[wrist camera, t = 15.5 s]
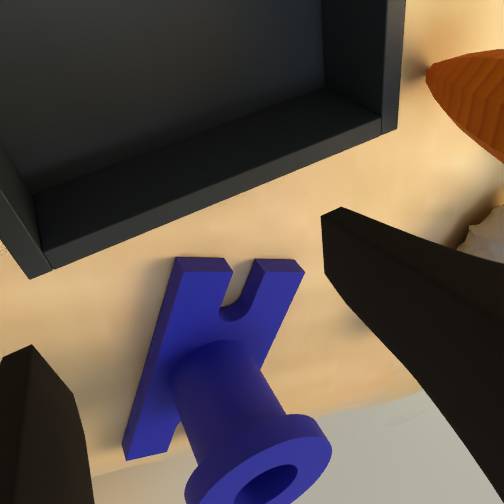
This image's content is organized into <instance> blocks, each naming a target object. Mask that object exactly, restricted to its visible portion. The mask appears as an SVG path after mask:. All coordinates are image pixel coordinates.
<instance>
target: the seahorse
mask: <svg viewBox="0 0 504 504" xmlns="http://www.w3.org/2000/svg"><path fill="white" fill-rule="evenodd" d="M456 250H458V251H461V252H464V253H467V254H470V255H474V256H477V257H481V258H484V259H488V260H492V261H496V262H500V263H504V205H502V206H499V207H496V208H494V209H492V211H491V213H490V215H489V216H488V217H487V218H486V219H484V220H483V221H482V222H481V223H480V224H479V225H470V226H469V233H468V234H467V237H466V240H465V241H464V243H462V244H460V245H459V246H458V248H457V249H456Z"/></svg>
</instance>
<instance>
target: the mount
mask: <svg viewBox="0 0 504 504" xmlns="http://www.w3.org/2000/svg"><path fill="white" fill-rule="evenodd" d="M232 274H233V271H232V269H231V268H230V266H229V265H228V263H227V262H226V260H225V259H224V258H197V257H176V259H175V262H174V266H173V269H172V272H171V276H170V279H169V283H168V286H167V290H166V293H165V297H164V300H163V303H162V307H161V310H160V314H159V317H158V321H157V324H156V328H155V331H154V334H153V338H152V341H151V345H150V348H149V352H148V355H147V359H146V362H145V366H144V369H143V372H142V376H141V379H140V383H139V386H138V390H137V393H136V397H135V400H134V403H133V407H132V410H131V414H130V417H129V421H128V424H127V428H126V431H125V434H124V438H123V441H122V447H123V451H124V455H125V459H126V461H128V460H133V459H137V458H141V457H146V456H150V455H155V454H159V453H164V452H167V450H168V447H169V444H170V442H171V439H172V436H173V434H174V431H175V428H176V426H177V425H178V424H179V422H181V421H182V424H183V427H184V429H185V432H186V434H187V437H188V440H189V442H190V445H191V448H192V450H193V453H194V456H195V458H196V461H197V463H198V467H197V468H196V469H195V470H194V472H193V473H192V475H191V476H190V478H189V480H188V482H187V484H186V487H185V493H184V495H185V501H186V503H187V504H290V503H292V502H293V501H294V500H296V499H297V498H298V497H299V496H301V495H302V494H303V493H304V492H305V491H306V490H307V489H309V487H311V486H312V485H313V484H314V483H315V481H316V480H317V479H318V478H319V477H320V476H321V474H322V473H323V472H324V470H325V468H326V467H327V465H328V463H329V461H330V458H331V455H332V447H331V445H330V443H329V441H328V440H327V438H326V436H325V435H324V433H323V432H322V430H321V429H320V427H319V425H318V424H317V422H316V421H315V420H314V419H313V418H311V417H309V416H306V415H301V414H289V415H286V413H285V411H284V410H283V408H282V406H281V405H280V403H279V401H278V400H277V398H276V396H275V395H274V393H273V391H272V389H271V388H270V386H269V384H268V383H267V381H266V379H265V378H264V376H263V374H262V372H261V371H260V369H261V367H262V364H263V362H264V360H265V358H266V356H267V354H268V351H269V349H270V347H271V345H272V343H273V341H274V339H275V336H276V334H277V332H278V330H279V328H280V326H281V323H282V321H283V319H284V317H285V315H286V313H287V310H288V308H289V306H290V304H291V302H292V300H293V297H294V295H295V293H296V291H297V289H298V287H299V284H300V282H301V280H302V278H303V276H304V274H305V271H304V270H303V269H302V268H301V267H300V266H299V265H298V263H297V262H296V261H295V260H282V259H255V261H254V264H253V266H252V269H251V271H250V274H249V276H248V279H247V282H246V284H245V287H244V289H243V292H242V294H241V296H240V298H239V299H238V300H237V301H236V302H235V303H233V304H232V305H230V306H227V307H223V308H220V306H221V304H222V301H223V298H224V296H225V293H226V290H227V288H228V285H229V282H230V279H231V277H232Z"/></svg>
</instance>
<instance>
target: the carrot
mask: <svg viewBox="0 0 504 504" xmlns="http://www.w3.org/2000/svg"><path fill="white" fill-rule="evenodd" d="M426 83H427V85H428V87H429V89H430V91H431V93H432V95H433V97H434V99H435V100H436V101H437V102H438V103H439V105H440V106H441V107H442V108H443V110H444V111H445V112H446V113H447V115H448V116H449V117H450V118H451V119H452V120H453V121H454V123H455V124H456V125H457V126H458V127H459V128H460V129H461V130H462V131H463V132H465V133H466V134H467V135H468V136H469V137H471V138H472V139H473V140H474V141H475V142H476V143H478V144H479V145H480V146H481V147H483V148H484V149H485V150H486V151H488V152H489V153H490V154H492V155H493V156H494V157H496V158H497V159H498V160H500V161H501V162H502V163H503V164H504V49H496V50H490V51H483V52H476V53H470V54H466V55H462V56H458V57H455V58H451V59H448V60H444V61H441V62H437V63H434V64H433V65H432V66H431V67H430V68H429V69H428V70H427V71H426Z"/></svg>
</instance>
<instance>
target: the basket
mask: <svg viewBox="0 0 504 504" xmlns="http://www.w3.org/2000/svg"><path fill="white" fill-rule="evenodd" d="M405 7H406V0H0V240H1V241H2V243H3V244H4V245H5V247H6V248H7V249H8V251H9V252H10V254H11V255H12V256H13V258H14V259H15V261H16V262H17V263H18V265H19V266H20V268H21V269H22V270H23V272H24V273H25V274H26V276H27V277H28V279H33V278H35V277H38V276H40V275H43V274H45V273H48V272H50V271H52V270H53V269H57V268H60V267H62V266H65V265H67V264H70V263H72V262H74V261H77V260H79V259H82V258H84V257H87V256H89V255H91V254H94V253H96V252H99V251H101V250H104V249H106V248H109V247H111V246H113V245H116V244H118V243H121V242H123V241H126V240H128V239H130V238H133V237H135V236H138V235H140V234H143V233H145V232H147V231H150V230H152V229H155V228H157V227H160V226H162V225H164V224H167V223H169V222H172V221H174V220H177V219H179V218H181V217H184V216H186V215H189V214H191V213H194V212H196V211H199V210H201V209H203V208H206V207H208V206H211V205H213V204H216V203H218V202H220V201H223V200H225V199H228V198H230V197H233V196H235V195H237V194H240V193H242V192H245V191H247V190H250V189H252V188H254V187H257V186H259V185H262V184H264V183H267V182H269V181H272V180H274V179H276V178H279V177H281V176H284V175H286V174H289V173H291V172H293V171H296V170H298V169H301V168H303V167H306V166H308V165H310V164H313V163H315V162H318V161H320V160H323V159H325V158H327V157H330V156H332V155H335V154H337V153H340V152H342V151H345V150H347V149H349V148H352V147H354V146H357V145H359V144H362V143H364V142H366V141H369V140H371V139H374V138H376V137H379V136H380V135H383V134H386V133H388V132H390V131H393V130H395V129H397V123H398V109H399V94H400V80H401V65H402V51H403V36H404V21H405Z"/></svg>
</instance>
